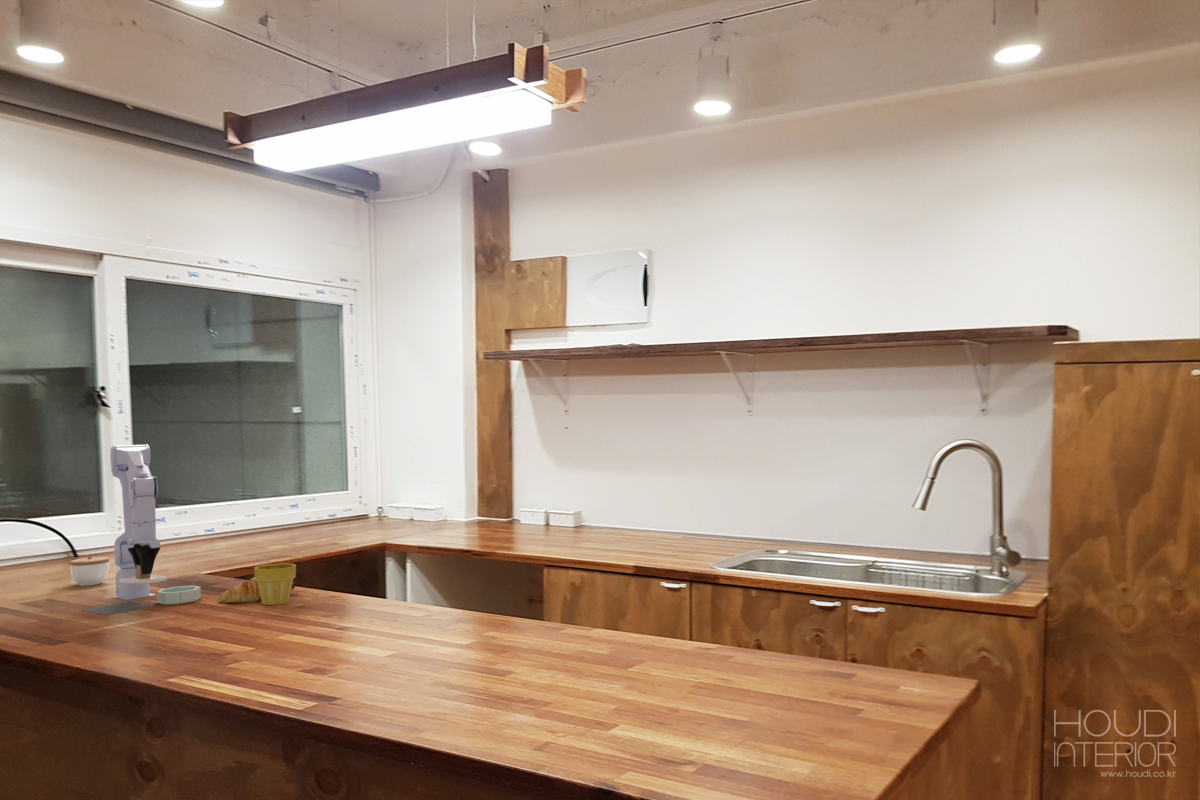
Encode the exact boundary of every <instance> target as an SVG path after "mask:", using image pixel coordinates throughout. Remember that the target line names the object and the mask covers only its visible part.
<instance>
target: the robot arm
mask: <svg viewBox="0 0 1200 800" xmlns="http://www.w3.org/2000/svg"><path fill="white" fill-rule="evenodd" d="M150 463H151V447H150V446H149V444H148V443H145V444H129V445H125V444H124V445H122V444H121V445H116V444H114V445H112V446H111V448H110V468H111V470H110V471H111V473H112V477H114V478H117V479H119V482H120V486H121V494H122V495H121V496H122V511H123V524H124V525H123V527H124V533H122V534H120V535H118V537H116V539H115V541H114V551H113V557H114V565H116V567H119V569H117V572H116V574H115V595H113V596H112V598H117V599H121V600H122V599H123V600H126V601H127V600H134V599H140V598H145V597H151V596H157V593H150V592H151V589H150V588H151V587H150V584H151V583H147V584H121V583H119V579H121V578H125V577H133V576H136V565H141V571H142V574H150V575H151V574H152V572H153V568H154V564H155V561H156V557H157V555H158V554H159V552H160V551H161V540H160V539H158V538H157V536H156V534H157V531H156V530H157V526H156V525H157V524H156V521H157V520H156V499H157V497H158V493H159V491H158V490H159V488H158V486H159V485H158V481H157V477H156V476H152V472H151V471H150Z"/></svg>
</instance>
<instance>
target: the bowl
mask: <svg viewBox="0 0 1200 800" xmlns="http://www.w3.org/2000/svg"><path fill="white" fill-rule="evenodd" d="M201 588H202V586H198V585H183V586H178V585H177V586H172V587H166V588H162V589H159V590H158V591H156V603H157V604H160V605H177V604H179V605H180V604H185V603H190V602H195V601H199V600H200V599H201V598H202V594H201V593H202V591H201Z"/></svg>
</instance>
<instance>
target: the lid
mask: <svg viewBox="0 0 1200 800" xmlns="http://www.w3.org/2000/svg"><path fill="white" fill-rule="evenodd" d="M166 581H167V575H155V574H154V575H151V574H142V571H141V565H136V576H133V577H125V578H121V579H119V583H121V584H147V583H150V584H154V583H160V582H161V583H162V582H166Z"/></svg>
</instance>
